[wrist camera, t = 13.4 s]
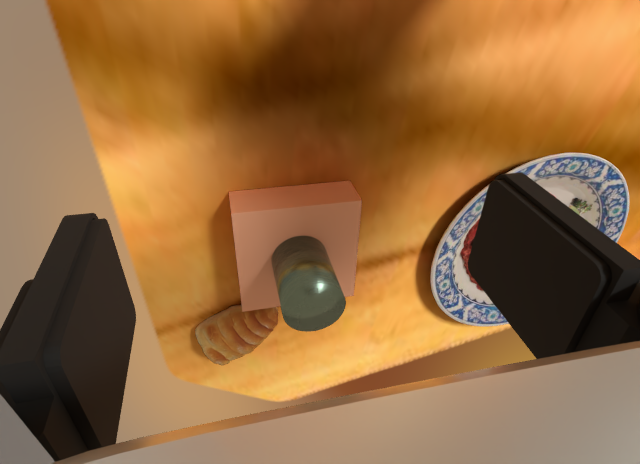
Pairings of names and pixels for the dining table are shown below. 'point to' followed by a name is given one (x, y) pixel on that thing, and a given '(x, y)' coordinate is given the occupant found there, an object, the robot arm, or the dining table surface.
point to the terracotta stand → (293, 233)
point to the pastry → (234, 332)
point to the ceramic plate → (562, 182)
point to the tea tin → (307, 284)
